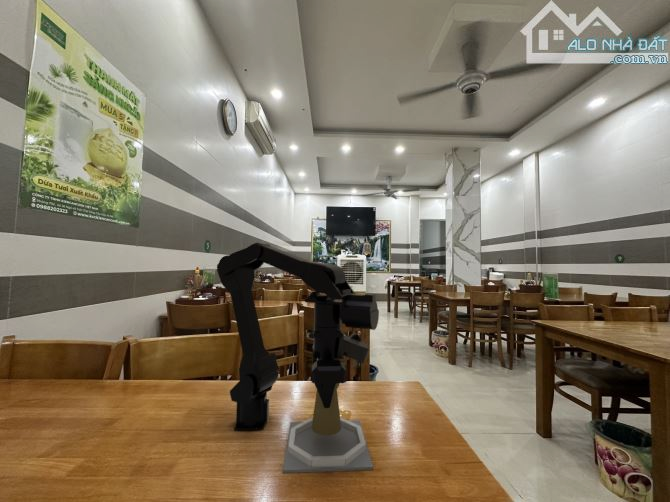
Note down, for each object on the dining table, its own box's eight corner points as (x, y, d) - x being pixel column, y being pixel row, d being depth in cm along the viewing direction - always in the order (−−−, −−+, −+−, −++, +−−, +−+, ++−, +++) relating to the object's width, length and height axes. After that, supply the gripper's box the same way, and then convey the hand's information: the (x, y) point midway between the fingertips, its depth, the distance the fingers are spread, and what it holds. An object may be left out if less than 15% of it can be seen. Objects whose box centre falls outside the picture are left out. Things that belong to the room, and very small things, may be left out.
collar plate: (282, 473, 51) (282, 463, 51) (290, 424, 67) (290, 416, 67) (373, 469, 52) (373, 459, 52) (359, 422, 68) (359, 414, 68)
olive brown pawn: (338, 437, 56) (338, 378, 57) (307, 433, 58) (308, 376, 58) (343, 421, 62) (344, 368, 63) (316, 418, 64) (316, 366, 64)
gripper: (374, 335, 52) (374, 425, 51) (359, 317, 71) (358, 383, 70) (312, 335, 52) (310, 427, 51) (313, 317, 70) (312, 384, 69)
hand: (326, 401), depth 60 cm, fingers closed on olive brown pawn, 5 cm apart
